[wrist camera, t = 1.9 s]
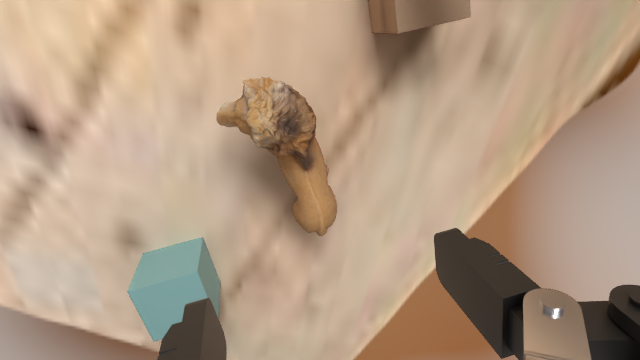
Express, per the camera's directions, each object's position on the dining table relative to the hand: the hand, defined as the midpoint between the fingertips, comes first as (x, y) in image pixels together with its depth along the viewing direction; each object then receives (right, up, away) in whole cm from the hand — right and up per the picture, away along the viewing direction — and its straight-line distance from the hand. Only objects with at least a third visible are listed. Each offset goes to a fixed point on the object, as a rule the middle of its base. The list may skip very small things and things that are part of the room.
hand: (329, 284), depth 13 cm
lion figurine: (-3, +6, +17) cm, 19 cm away
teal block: (-12, -4, +19) cm, 23 cm away
